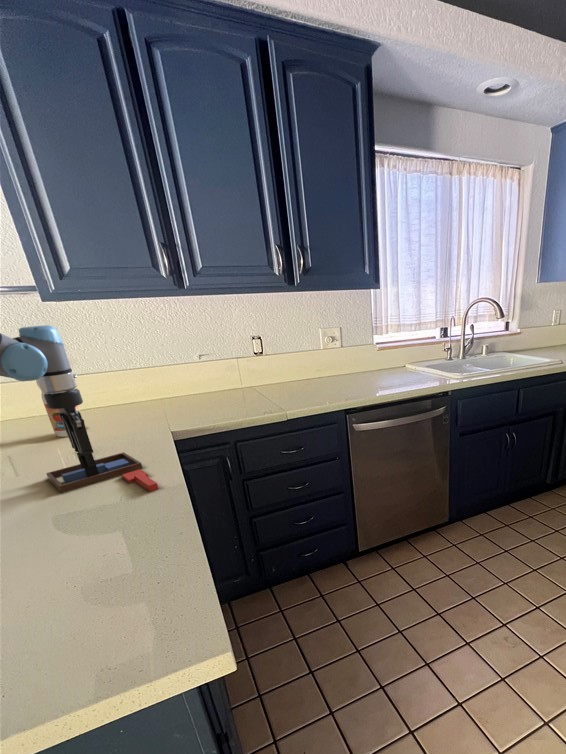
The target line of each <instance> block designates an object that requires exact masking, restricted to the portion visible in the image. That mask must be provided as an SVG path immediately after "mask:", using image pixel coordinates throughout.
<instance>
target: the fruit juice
mask: <svg viewBox="0 0 566 754" xmlns="http://www.w3.org/2000/svg"><path fill="white" fill-rule="evenodd" d="M35 382H36V385H37V387H38V388H39V390H40V391H41V388H40V386H39V383H38V380H35ZM40 393H41V395H40V396H41V400H42V403H43V406H44V408H45V411H46V414H47V416H48V419H49V421H50V424H51V427H52V429H53V433H54V434H55V436H56V437H59V438H67V437H68V435H67V432H66V430H65V428H64V425H63V423H62V421H61V419H60V417H59V413H61V412H60V409H51V408H49V407H48V405H47V403H46V400H45V398H44V394H45V392H42V391H41V392H40ZM75 409H76V410H77V412H80V414H81V411H80V408H79V405H77V406H76V407H75ZM81 417H82V418H83V416H82V414H81ZM68 438H69V437H68Z"/></svg>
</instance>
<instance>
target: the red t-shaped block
mask: <svg viewBox="0 0 566 754" xmlns="http://www.w3.org/2000/svg"><path fill="white" fill-rule="evenodd" d="M121 477H122V479H124V480H125V481H126V482H128V483H129V484H132V483H135V482H136V483H137V484H139V485H140V486H142V487H143V488H144V489H146V490H147V491H149V492H153V491H154V492H155V491H157V490H159V485H158V483H157V482H156V481H154V480H153V479H151V478H150V477H149V474H148V473H147V472H146V471H144V470H143V469H139V470H135V471H132V472H129V473H125V474H122V475H121Z"/></svg>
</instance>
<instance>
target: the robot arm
mask: <svg viewBox="0 0 566 754" xmlns="http://www.w3.org/2000/svg"><path fill="white" fill-rule="evenodd" d="M0 377H4V378H10V379H13V380H16V381H19V382H32V381H36V380H38V383H39V386H40V388H41V389H40V388H39V389H40V391H42V392H45V394H44V398H45V400H46V403H47V405H48V407H49V408H51V409H60V412H61V413H59V417H60V419H61V421H62V423H63V425H64V428H65V430H66V432H67V435H68V439H69V442H70V445H71V448H72V449H74V452H75V453H76V456H77V458H78V461H79V464H81V467H82V469H83V468H84V469H85V471H86V474H87V478H88V477H91V476H95V475H98V474H99V472H98V469H97V466H96V463H95V461H94V460H95V458H94V455H93V454H94V449H93V447H92V443H91V441H90V437H89V434H88V431H87V428H86V424H85V419H83V416H82V414H80V413H81V411H80V412H77V410H76V409H75V407H76V406H77V405H78V406H80V405H82V404H83V402H84V401H83V398H82V394H81V391H80V389H78V388H77V387H78V384H77V381H76V379H77V377H78V376H77V374H75V373H74V372H73V369H72V367H71V364H70V361H69V358H68V355H67V352H66V348H65V343H63V340H62V338H61V335H60V333H59V331H58V329H57V328H56V327H55V326H53V325H49V324H47V325H31V326H23V327H20V328H18V336H16V337H13V338H11V337H9V336H8V335H5V334H3V333H2V332H0ZM42 392H41V393H42ZM81 416H82V417H81Z"/></svg>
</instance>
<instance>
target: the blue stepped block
mask: <svg viewBox="0 0 566 754" xmlns="http://www.w3.org/2000/svg"><path fill="white" fill-rule="evenodd" d="M129 465H131V463H129V462H128V461H126V460H125V459H120V460H116V461H113V462H109V463H105V464H103V463H101V464H97V465H96V466H97V469H98V472H99V474H101V473H105V472H108V471H112V470H115V469H119V468H122V467H126V466H129ZM61 475H62V476H61V478H62V480H63V482H64V484H67V483H70V482H74V481H77V480H81V479H84V478H88V477H87V474H86V471H85V469H84V468H83V469H79V470H76V471H72V472H68V473H65V474H61Z"/></svg>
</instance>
